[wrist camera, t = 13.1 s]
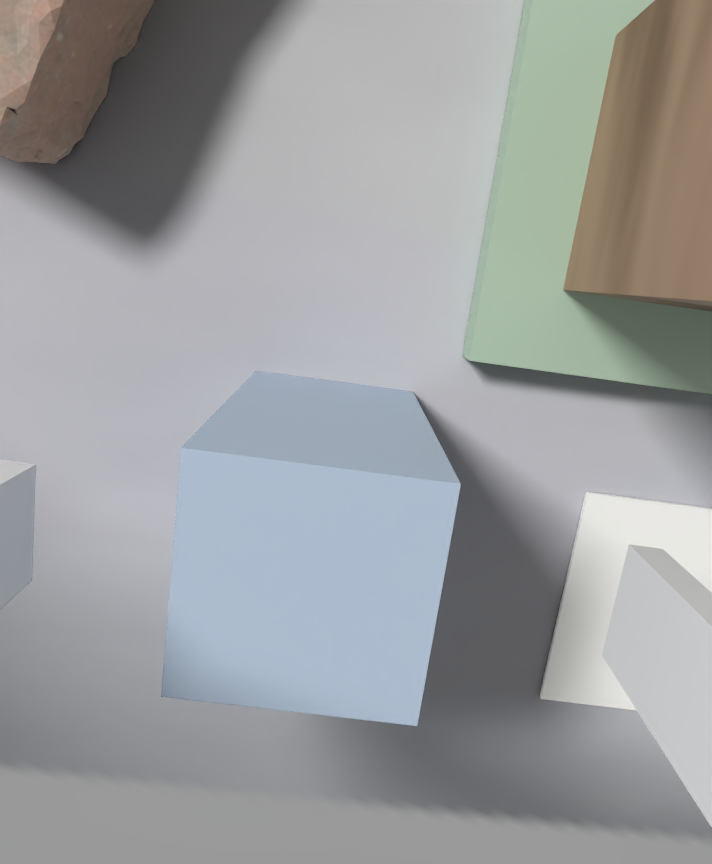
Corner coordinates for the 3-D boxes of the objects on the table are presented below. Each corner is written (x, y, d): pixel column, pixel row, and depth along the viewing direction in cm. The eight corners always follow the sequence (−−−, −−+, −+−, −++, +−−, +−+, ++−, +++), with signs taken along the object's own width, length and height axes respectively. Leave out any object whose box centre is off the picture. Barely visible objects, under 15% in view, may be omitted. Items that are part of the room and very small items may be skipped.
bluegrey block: (240, 518, 23) (161, 696, 14) (256, 370, 22) (181, 447, 12) (389, 537, 23) (417, 726, 14) (412, 391, 22) (460, 484, 13)
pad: (462, 355, 22) (468, 360, 21) (535, -60, 19) (547, -82, 18) (817, 405, 22) (842, 412, 21) (936, 6, 20) (973, -11, 19)
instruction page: (539, 696, 25) (540, 700, 25) (585, 491, 23) (588, 493, 23) (800, 727, 25) (804, 731, 25) (866, 528, 23) (871, 530, 23)
